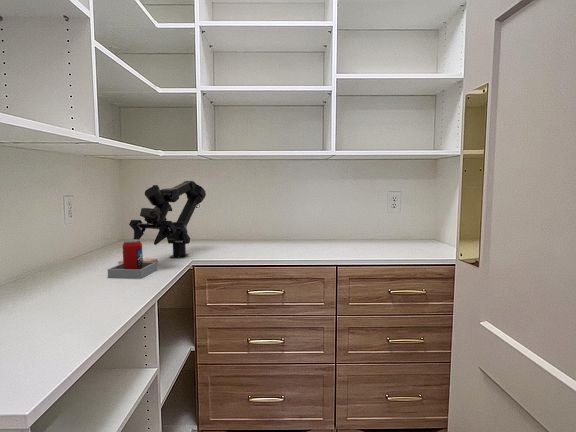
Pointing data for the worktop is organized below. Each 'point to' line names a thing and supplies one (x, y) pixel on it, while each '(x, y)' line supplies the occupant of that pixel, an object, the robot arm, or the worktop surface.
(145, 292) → the worktop surface
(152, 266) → the tray
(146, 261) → the tile
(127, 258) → the beverage can
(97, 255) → the worktop surface
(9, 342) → the worktop surface
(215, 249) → the worktop surface
